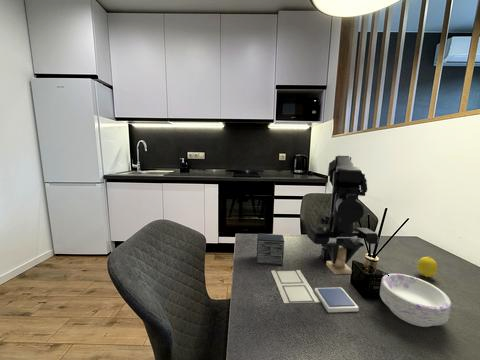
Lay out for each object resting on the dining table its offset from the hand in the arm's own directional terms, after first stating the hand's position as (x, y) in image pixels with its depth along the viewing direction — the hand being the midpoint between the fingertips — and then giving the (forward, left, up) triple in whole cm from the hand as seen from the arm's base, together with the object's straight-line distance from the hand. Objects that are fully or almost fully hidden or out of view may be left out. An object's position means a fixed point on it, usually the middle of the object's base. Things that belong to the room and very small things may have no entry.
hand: (339, 263), depth 64 cm
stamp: (0, 0, -2) cm, 2 cm away
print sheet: (+10, -8, -12) cm, 18 cm away
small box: (+15, -24, -13) cm, 31 cm away
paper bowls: (-19, +6, -13) cm, 24 cm away
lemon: (-41, -11, -13) cm, 44 cm away
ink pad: (0, 0, -12) cm, 12 cm away
